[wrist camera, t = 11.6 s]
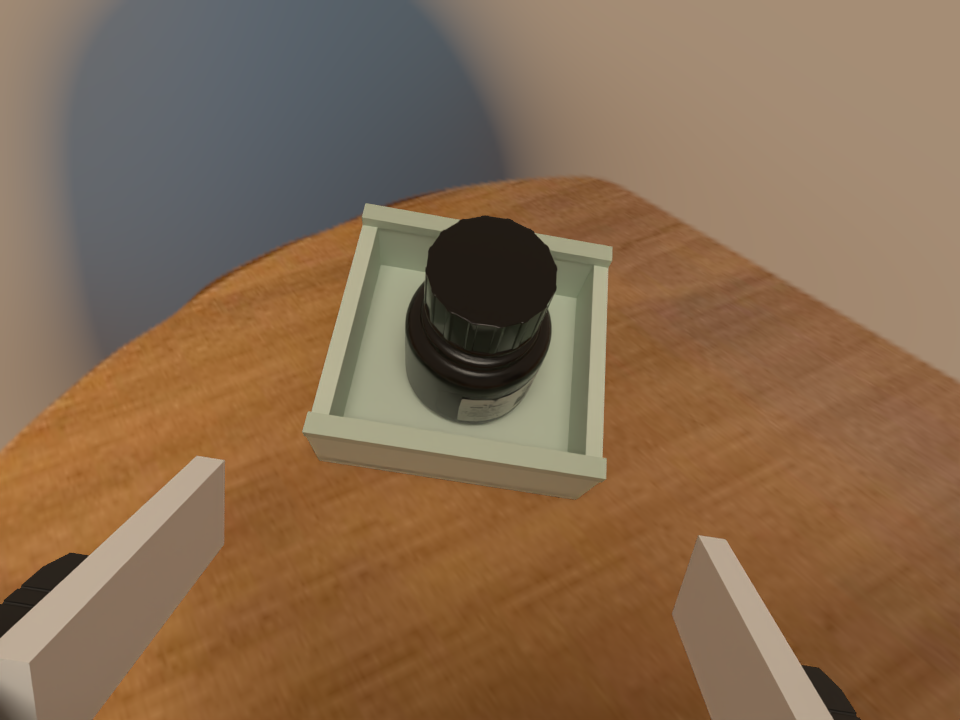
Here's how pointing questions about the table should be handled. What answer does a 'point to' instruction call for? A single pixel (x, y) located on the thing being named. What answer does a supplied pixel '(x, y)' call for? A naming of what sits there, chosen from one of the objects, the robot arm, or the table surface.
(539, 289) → the ink bottle
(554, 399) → the tray
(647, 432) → the table surface
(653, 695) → the table surface
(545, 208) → the table surface
